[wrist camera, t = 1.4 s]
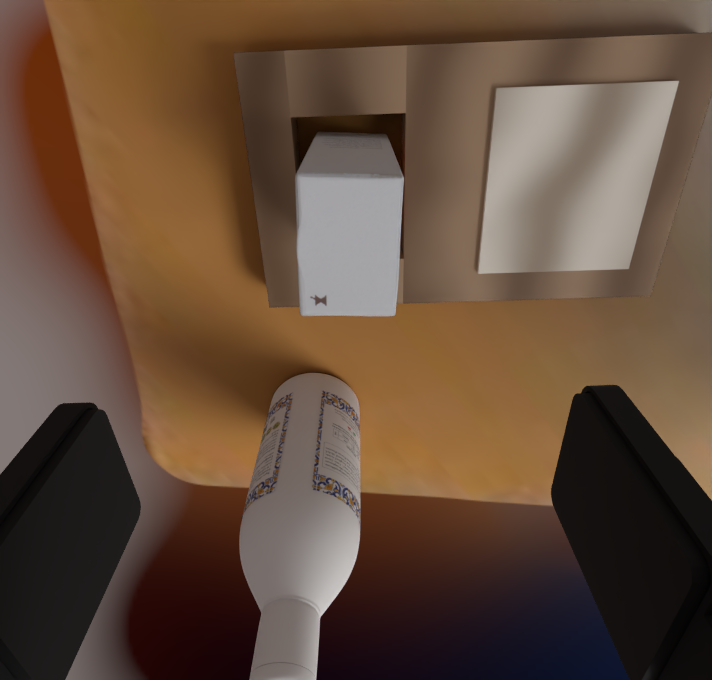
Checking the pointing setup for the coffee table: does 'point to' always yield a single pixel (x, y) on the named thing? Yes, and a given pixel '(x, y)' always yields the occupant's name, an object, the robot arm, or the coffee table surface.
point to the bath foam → (301, 520)
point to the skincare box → (348, 225)
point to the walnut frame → (496, 157)
